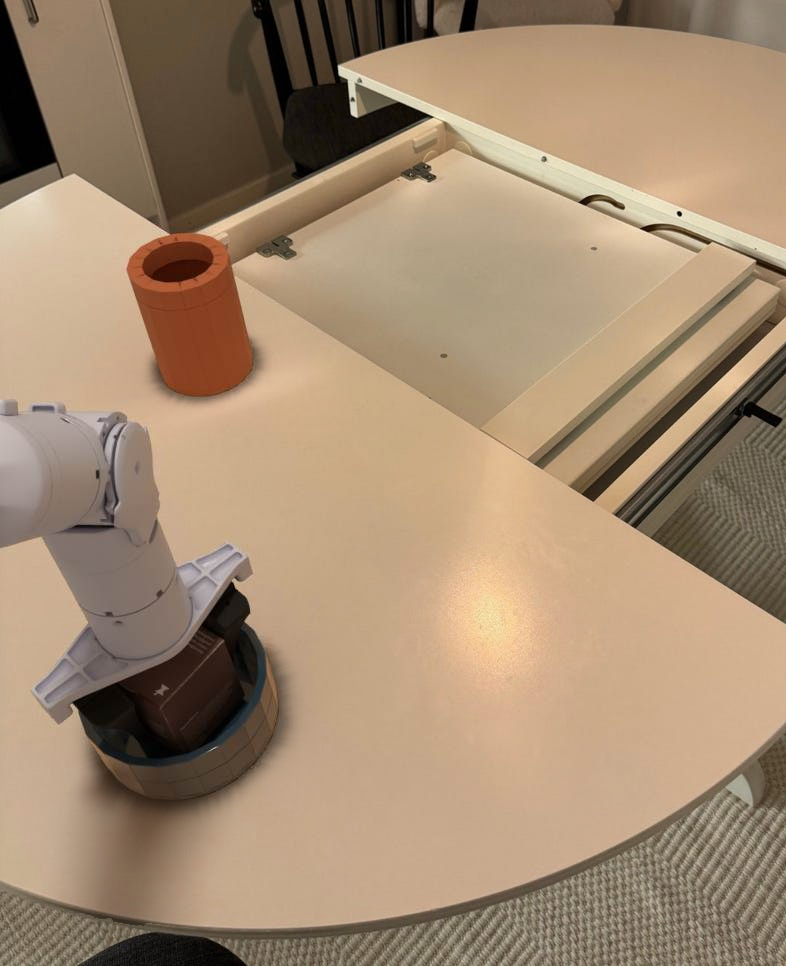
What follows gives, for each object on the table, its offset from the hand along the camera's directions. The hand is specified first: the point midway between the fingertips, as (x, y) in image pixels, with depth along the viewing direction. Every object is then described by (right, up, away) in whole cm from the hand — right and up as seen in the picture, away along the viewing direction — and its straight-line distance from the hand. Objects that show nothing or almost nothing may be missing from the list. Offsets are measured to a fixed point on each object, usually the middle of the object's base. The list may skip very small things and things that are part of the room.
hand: (180, 694), depth 65 cm
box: (0, -1, +2) cm, 2 cm away
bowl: (0, -2, +2) cm, 3 cm away
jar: (-6, +26, +27) cm, 38 cm away
